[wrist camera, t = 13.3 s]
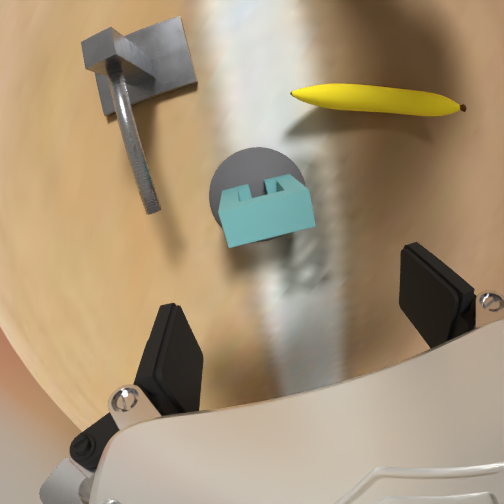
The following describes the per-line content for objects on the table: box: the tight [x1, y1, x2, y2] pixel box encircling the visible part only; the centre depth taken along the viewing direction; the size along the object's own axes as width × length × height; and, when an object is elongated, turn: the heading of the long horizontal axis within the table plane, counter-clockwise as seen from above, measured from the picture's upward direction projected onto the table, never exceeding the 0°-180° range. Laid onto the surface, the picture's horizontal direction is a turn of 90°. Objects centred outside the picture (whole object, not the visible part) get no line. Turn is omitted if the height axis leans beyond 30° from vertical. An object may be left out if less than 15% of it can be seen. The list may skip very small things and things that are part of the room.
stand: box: [81, 16, 198, 215], centre depth 20 cm, size 10×18×11 cm, turn 14°
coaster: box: [209, 147, 305, 242], centre depth 29 cm, size 10×10×1 cm
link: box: [218, 174, 316, 248], centre depth 25 cm, size 7×3×8 cm, turn 104°
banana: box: [290, 84, 466, 116], centre depth 23 cm, size 3×19×6 cm, turn 96°
